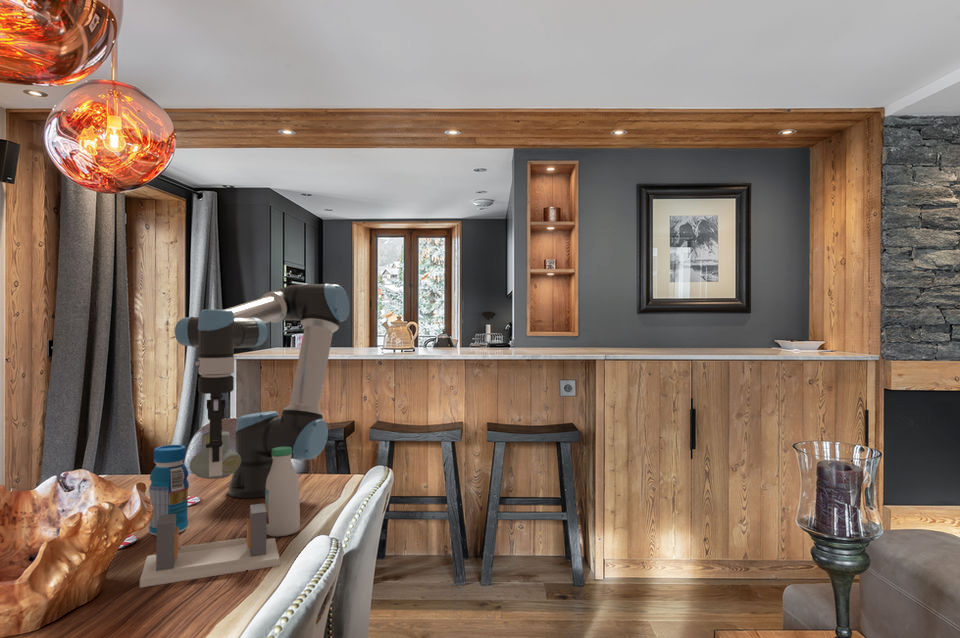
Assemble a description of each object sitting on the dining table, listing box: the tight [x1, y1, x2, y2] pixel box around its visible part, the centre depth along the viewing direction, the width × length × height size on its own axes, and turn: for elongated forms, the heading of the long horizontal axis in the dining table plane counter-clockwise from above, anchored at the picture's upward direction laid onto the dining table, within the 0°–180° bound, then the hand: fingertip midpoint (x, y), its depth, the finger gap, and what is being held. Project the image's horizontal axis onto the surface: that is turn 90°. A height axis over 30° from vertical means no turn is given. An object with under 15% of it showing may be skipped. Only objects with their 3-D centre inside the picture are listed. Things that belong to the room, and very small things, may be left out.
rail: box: [139, 502, 281, 588], centre depth 118 cm, size 12×25×10 cm, turn 114°
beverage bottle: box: [148, 444, 190, 537], centre depth 137 cm, size 8×8×20 cm
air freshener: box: [189, 430, 241, 480], centre depth 133 cm, size 11×8×10 cm
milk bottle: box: [264, 446, 301, 537], centre depth 136 cm, size 8×8×20 cm
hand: (215, 469), depth 133 cm, fingers closed on air freshener, 11 cm apart
